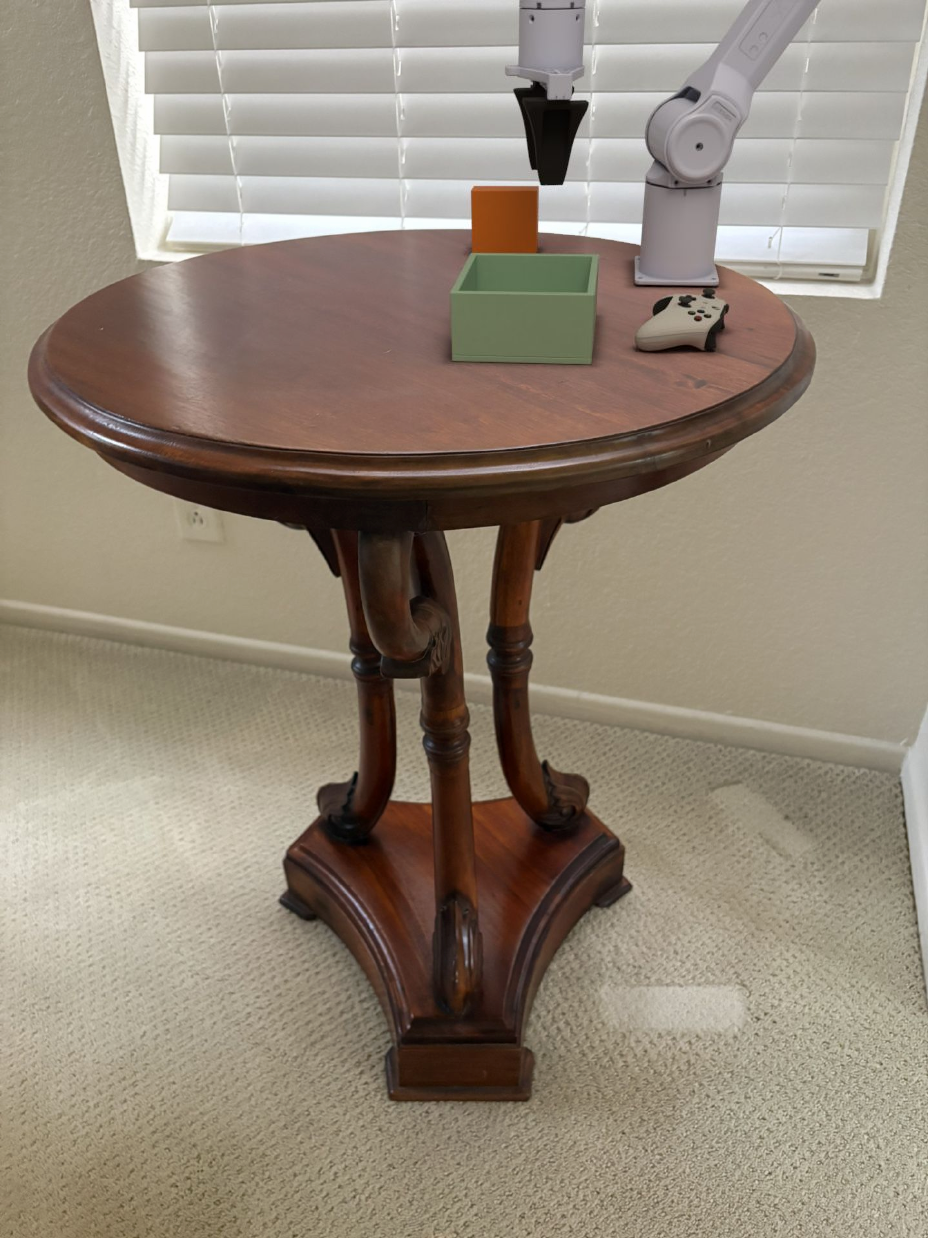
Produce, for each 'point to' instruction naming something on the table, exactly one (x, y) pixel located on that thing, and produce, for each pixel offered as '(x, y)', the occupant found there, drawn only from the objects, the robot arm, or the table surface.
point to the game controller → (683, 322)
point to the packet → (504, 219)
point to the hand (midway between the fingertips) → (546, 176)
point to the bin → (525, 308)
